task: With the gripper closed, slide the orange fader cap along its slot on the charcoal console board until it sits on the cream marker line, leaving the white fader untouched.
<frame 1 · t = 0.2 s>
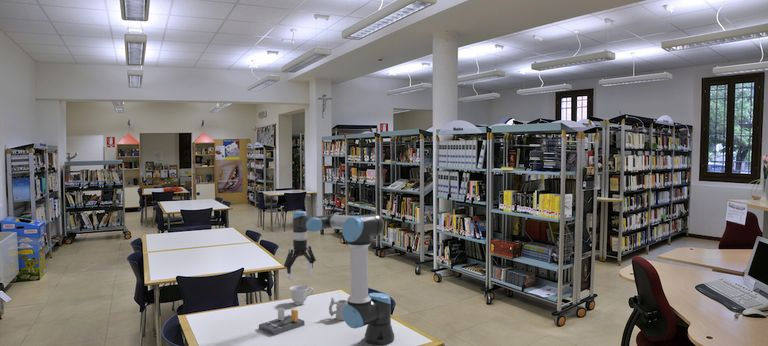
hand: (300, 276, 263), 26 cm above the table, fingers open, 13 cm apart
fader orange: (294, 315, 259), point 6 cm above the table, slide at 0.0 cm
teacup: (301, 303, 297), on the table
fader white: (281, 313, 261), point 6 cm above the table, slide at 0.0 cm
mug: (339, 318, 270), on the table
console: (281, 327, 257), on the table
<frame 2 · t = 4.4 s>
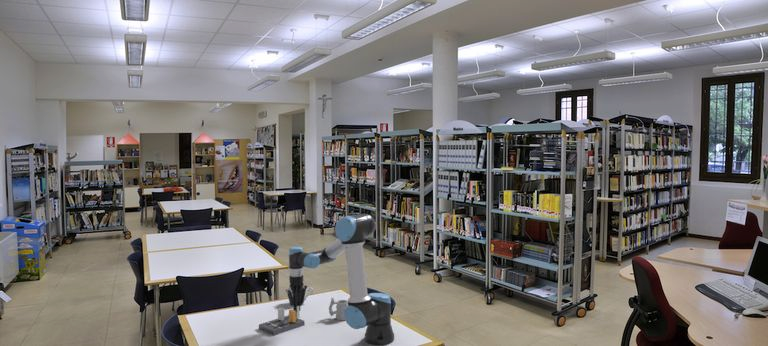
hand: (297, 317, 260), 4 cm above the table, fingers closed
fader orange: (292, 315, 258), point 6 cm above the table, slide at 1.5 cm, touching gripper
everything else where it was.
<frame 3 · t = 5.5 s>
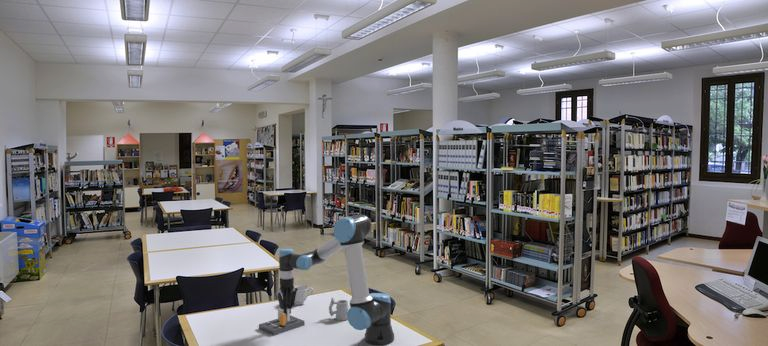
hand: (287, 320, 255), 4 cm above the table, fingers closed
fader orange: (282, 318, 253), point 6 cm above the table, slide at 7.9 cm, touching gripper
everything else where it was.
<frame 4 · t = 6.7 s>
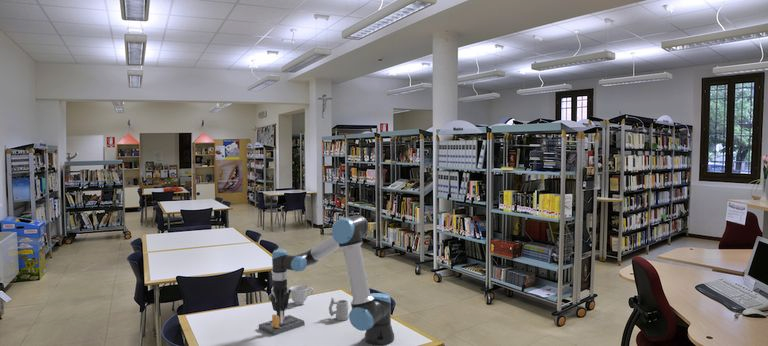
hand: (280, 322, 252), 4 cm above the table, fingers closed
fader orange: (275, 320, 250), point 6 cm above the table, slide at 12.3 cm, touching gripper
everything else where it was.
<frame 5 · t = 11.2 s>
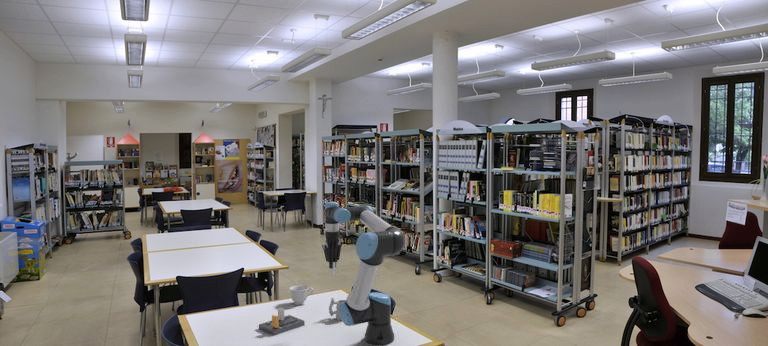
hand: (332, 273, 255), 29 cm above the table, fingers closed
fader orange: (275, 321, 250), point 6 cm above the table, slide at 12.5 cm
everything else where it was.
at the end: fader orange slide at 12.5 cm; fader white slide at 0.0 cm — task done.
